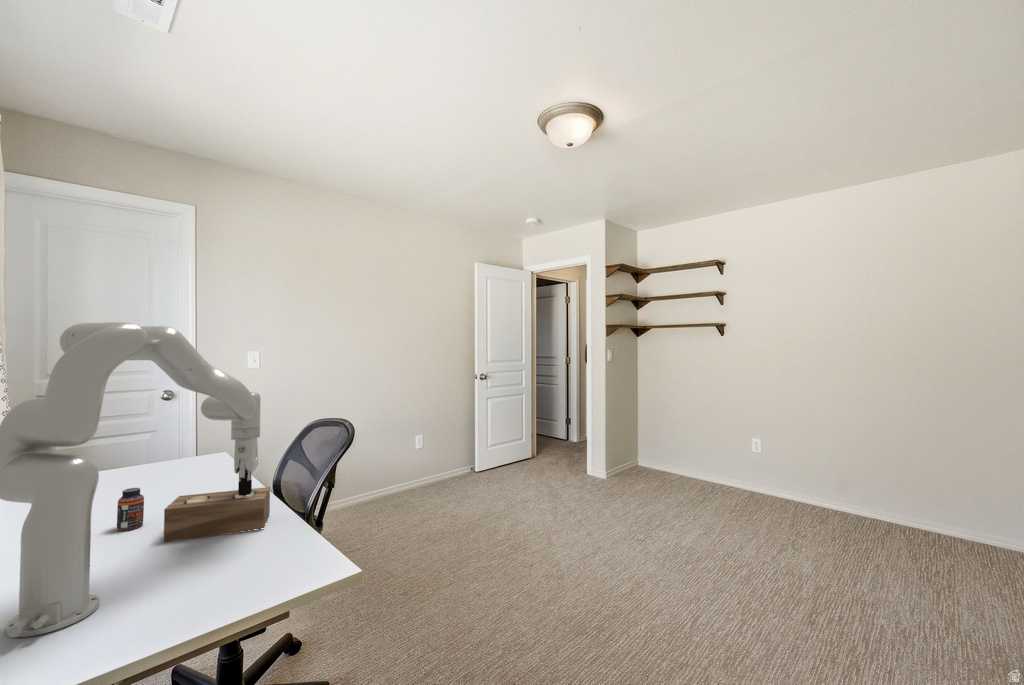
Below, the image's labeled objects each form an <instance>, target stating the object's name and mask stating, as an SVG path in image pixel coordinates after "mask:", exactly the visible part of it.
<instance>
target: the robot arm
mask: <svg viewBox="0 0 1024 685" xmlns="http://www.w3.org/2000/svg"><path fill="white" fill-rule="evenodd" d="M59 347H60V349H61V350H62V352H63V353H64V354H62V355H61V356H60V357H59V359H58V360H57V361H56V363H55V364H54V365H53V368H52V370H51V372H50V375H49V378H48V382H47V386H46V388H45V393H44V396H43V398H34V399H29V400H25V401H22V402H20V403H18V404H17V405H15V406H14V407H12V408H11V409H10V410H8V412H7V413H6V415H5V416H4V418H2V420H1V422H0V500H3V501H6V502H11V503H13V502H15V503H22V504H23V503H24V504H31V506H30V509H29V512H28V513H27V515H26V517H25V520H24V522H23V525H22V528H21V533H20V560H19V563H20V564H19V565H20V566H19V588H18V590H19V593H18V594H19V595H18V614H17V615H14V617H12V619H10V620H9V621H8V622H7V623H6V624H5V625H6V626H5V634H6V635H7V637H8V638H13V639H14V638H27V637H34V636H39V635H43V634H48V633H51V632H54V631H58V630H61V629H63V628H66V627H68V626H72V625H73V624H76V623H78V622H80V621H81V620H83V619H85V618H87V617H89V616H90V615H91V614H92V613H94V612H95V611H96V610H97V609H98V607H99V605H100V597H99V596H97V595H95V594H91V593H90V575H91V573H90V571H91V570H90V567H91V540H92V538H91V537H92V510H93V502H94V499H95V495H96V490H97V488H98V484H99V476H100V475H99V474H100V473H99V469H98V467H97V465H96V464H95V463H94V461H93V460H91V459H90V458H88V457H86V456H82V455H78V454H74V453H73V454H72V453H57V452H56V453H55V451H56V447H59V448H60V447H61V448H67V447H68V448H69V447H71V448H72V447H77V446H82V445H83V444H85V443H88V442H90V441H91V440H92V438H94V437H95V435H96V433H97V430H98V429H99V424H100V418H101V412H102V406H103V401H104V396H105V391H106V387H107V384H108V381H109V379H110V376H111V374H112V373H113V372H114V371H115V370H116V369H117V367H119V366H120V365H122V364H124V362H126V361H152V362H153V363H155V365H156V366H158V367H159V368H160V369H161V370H162V371H163V372H164V373H165V374H166V375H167V376H168V377H169V379H171V380H172V381H174V383H175V384H176V385H177V386H179V387H181V388H183V389H186V390H188V391H191V392H195V393H198V394H201V395H206V396H207V397H206V398H205V399H204V400H203V401H202V403H201V406H200V412H201V415H203V417H205V418H206V419H208V420H211V421H212V420H213V421H231V423H230V424H231V427H230V439H231V440H232V441H234V458H233V461H234V462H233V469H234V473H235V474H237V475H238V486H237V487H238V495H246V494H250V493H251V492H252V489H253V488H252V487H253V486H252V485H253V484H252V482H253V481H252V480H253V479H252V473H253V472H255V471H256V469H257V468H258V466H259V455H258V454H259V452H258V451H259V447H258V445H259V444H258V439H259V438H261V395H260V393H258V392H257V391H255V392H253V391H250V390H249V389H248V388H247V386H246V385H245V384H243V383H242V382H241V380H239V379H237V378H235V377H233V376H231V375H230V374H228V373H226V372H224V371H223V370H222V369H221V370H220V369H219V368H217V367H215V366H213V365H211V364H210V362H208V361H207V360H206V359H205V358H204V357H203V356H202V354H200V353H199V351H198V350H197V349H196V348H195V347H194V346H193V344H191V342H190V341H189V340H187V338H186V337H185V336H184V335H183V334H182V333H181V332H180V331H179V330H177V329H176V328H173V327H170V326H164V325H163V326H162V325H160V326H159V325H158V326H153V325H151V326H149V325H147V326H143V325H142V326H140V325H139V324H135V323H130V322H124V321H116V322H115V321H110V322H109V321H108V322H106V321H105V322H81V323H76V324H73V325H71V326H69V327H68V328H66V329H65V330H64V331H63V332H62V333H61V335H60V338H59Z"/></svg>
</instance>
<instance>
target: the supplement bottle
mask: <svg viewBox="0 0 1024 685" xmlns="http://www.w3.org/2000/svg"><path fill="white" fill-rule="evenodd" d="M144 508H145V496H144V495H143V494H141V488H140V487H131V488H126V489H123V490H122V496H121V497H120V498H119V499H118V500H117V508H116V509H117V510H116V513H117V515H116V530H117V531H120V532H128V531H133V530H136V529H139V528H141V527H142V526H143V525H144V514H145V513H144V512H145V510H144Z"/></svg>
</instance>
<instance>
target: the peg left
mask: <svg viewBox="0 0 1024 685" xmlns="http://www.w3.org/2000/svg"><path fill="white" fill-rule="evenodd" d="M207 500H208V497H206V496H199V497H193V498H190V499H188V500H187V501H186V504H188V503H197V502H206V501H207Z"/></svg>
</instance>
